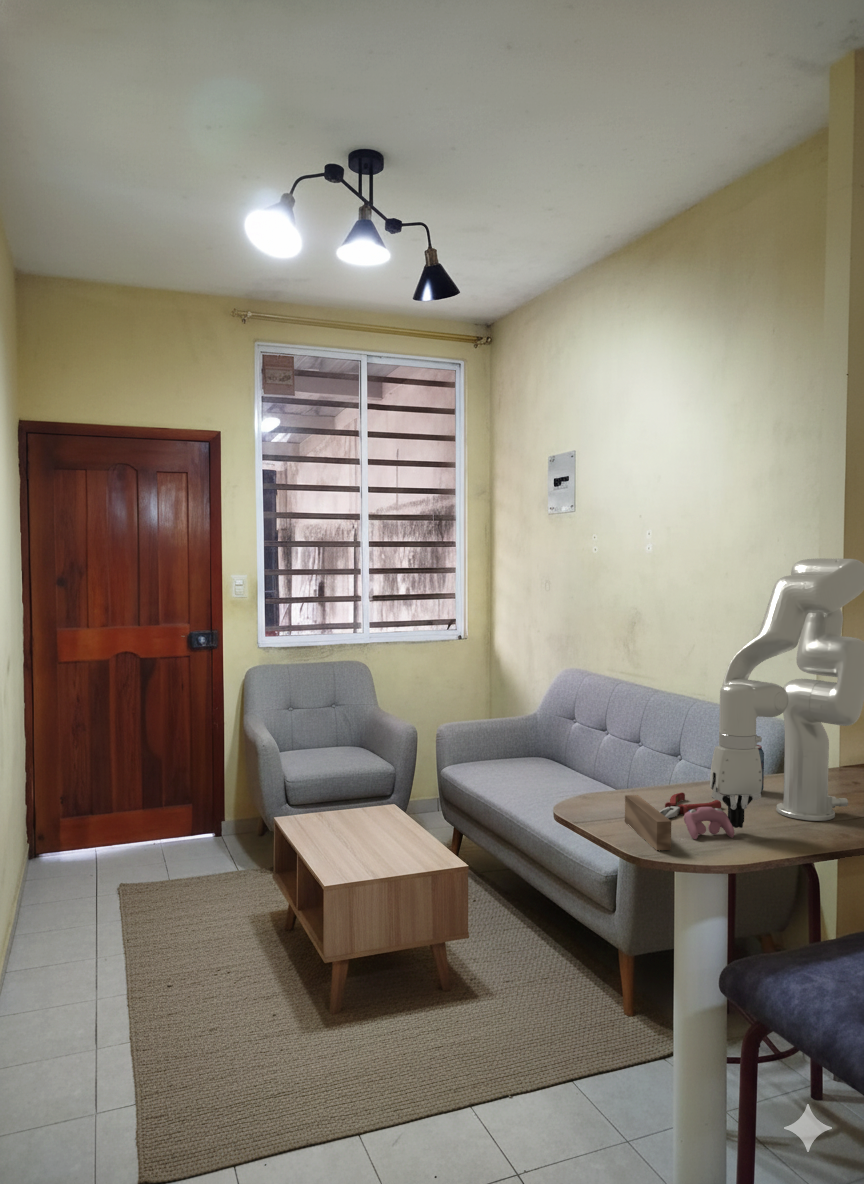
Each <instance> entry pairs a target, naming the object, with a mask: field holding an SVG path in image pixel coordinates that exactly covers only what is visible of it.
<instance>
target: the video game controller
mask: <svg viewBox="0 0 864 1184" xmlns="http://www.w3.org/2000/svg"><path fill="white" fill-rule="evenodd" d="M683 822H684V824H685V825H686V828H687V831H688V833H689V835H690V837H691V838H692V839H693V840H697V839H698V838H699V836H701V835H704V834H705V833H707V829H708V832H709V833H710V834H711V835H717V834H718V833H719V832H720V829H723V831H724V832H725V834H727V836H728V837H729V838H731V839H732V838H734V836H735V829H734V828H735V827H733V826H732V824H731V822H730V820H729V818H728V814H727V813H726V812H725V811H723V809H722V808H719V809H718V808H712V807H698V808H695V809H691V810H689V811H688V812H687V813H685V815H683ZM703 822H709V824H708V827H706V825H705V824H704V823H703Z"/></svg>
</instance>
